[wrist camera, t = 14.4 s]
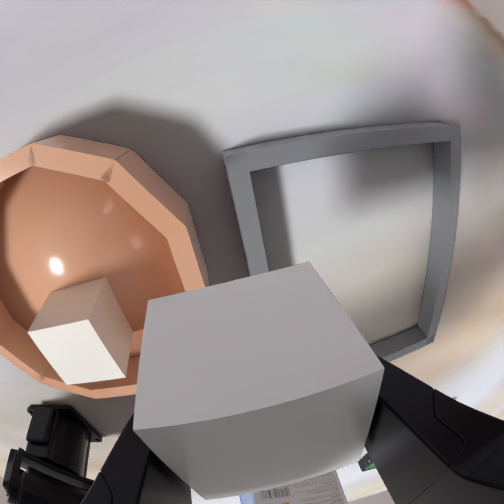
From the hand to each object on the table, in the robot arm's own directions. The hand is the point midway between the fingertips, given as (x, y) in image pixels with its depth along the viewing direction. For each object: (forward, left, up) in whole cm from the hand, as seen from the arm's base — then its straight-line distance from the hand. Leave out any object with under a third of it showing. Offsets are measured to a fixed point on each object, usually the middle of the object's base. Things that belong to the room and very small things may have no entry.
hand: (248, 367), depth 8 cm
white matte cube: (-3, +9, -10) cm, 14 cm away
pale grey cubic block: (0, 0, -1) cm, 1 cm away
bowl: (0, +9, -11) cm, 14 cm away
